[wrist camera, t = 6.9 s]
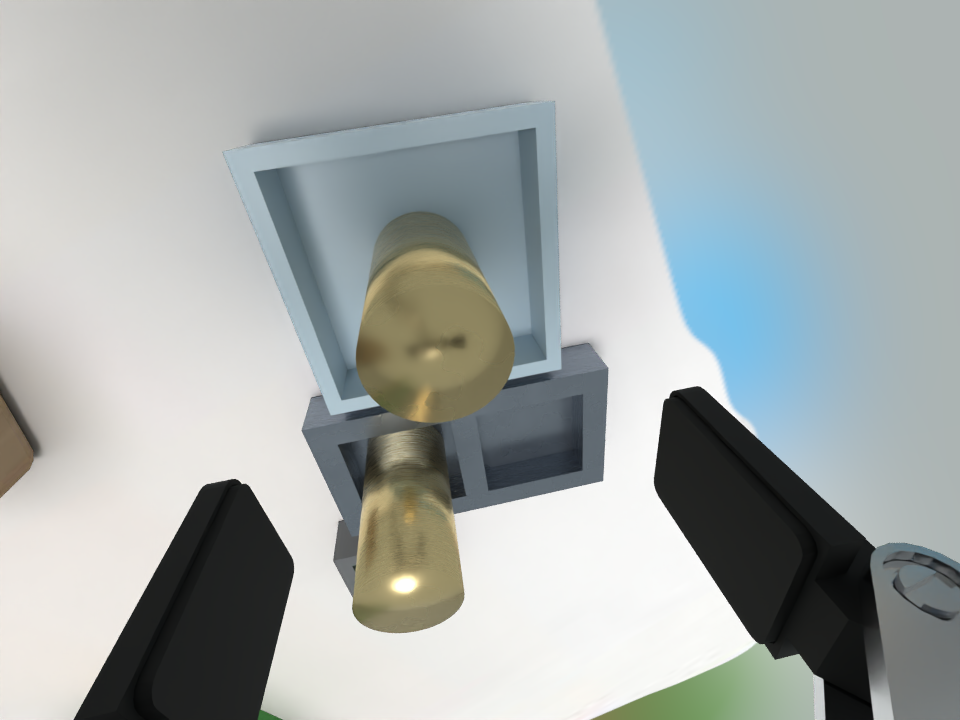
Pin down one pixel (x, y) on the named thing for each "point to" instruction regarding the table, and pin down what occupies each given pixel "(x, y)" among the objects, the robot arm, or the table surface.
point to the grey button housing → (346, 555)
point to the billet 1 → (430, 324)
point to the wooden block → (12, 450)
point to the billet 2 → (407, 535)
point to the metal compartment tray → (484, 439)
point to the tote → (394, 192)
